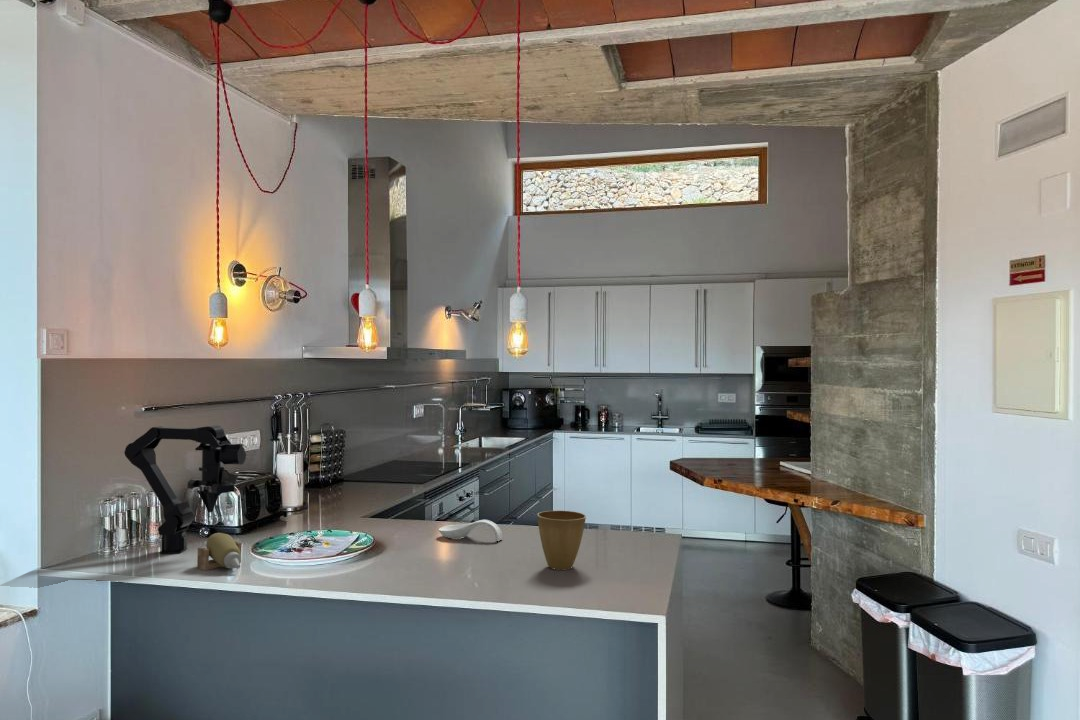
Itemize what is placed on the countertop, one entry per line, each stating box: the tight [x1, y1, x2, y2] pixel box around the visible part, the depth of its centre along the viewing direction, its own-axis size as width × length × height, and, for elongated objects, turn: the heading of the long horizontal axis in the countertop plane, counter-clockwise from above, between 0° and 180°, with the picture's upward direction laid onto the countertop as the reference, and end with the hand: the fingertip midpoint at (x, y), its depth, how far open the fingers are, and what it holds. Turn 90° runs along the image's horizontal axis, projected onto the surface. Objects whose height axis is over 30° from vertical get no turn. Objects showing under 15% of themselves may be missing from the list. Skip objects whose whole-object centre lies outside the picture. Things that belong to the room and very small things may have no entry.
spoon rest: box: [438, 519, 504, 542], centre depth 255 cm, size 24×12×7 cm, turn 72°
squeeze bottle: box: [205, 532, 242, 570], centre depth 214 cm, size 8×8×18 cm
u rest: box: [196, 540, 243, 571], centre depth 217 cm, size 4×12×6 cm, turn 144°
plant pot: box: [536, 510, 587, 570], centre depth 218 cm, size 15×15×16 cm
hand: (210, 512), depth 232 cm, fingers closed
